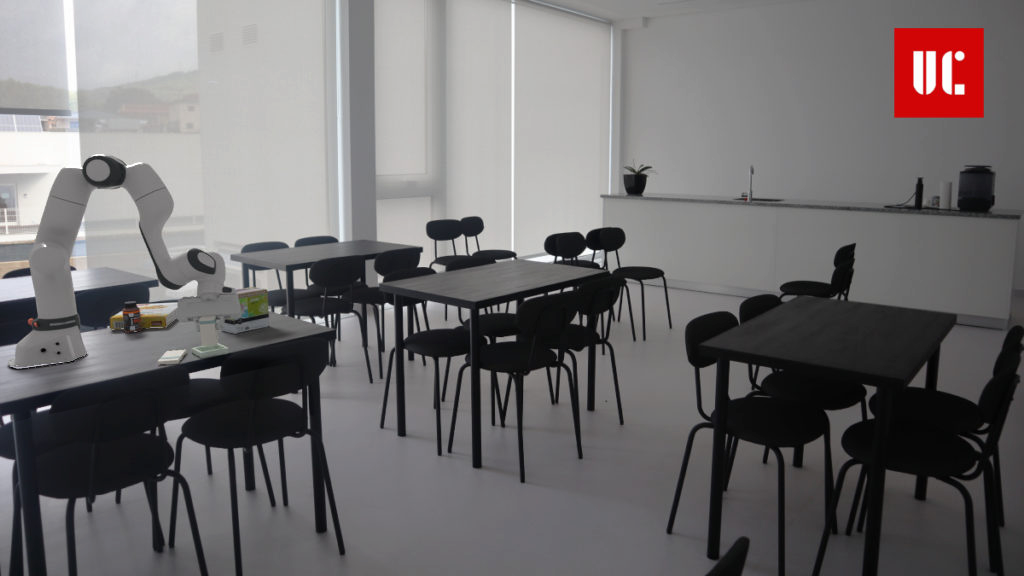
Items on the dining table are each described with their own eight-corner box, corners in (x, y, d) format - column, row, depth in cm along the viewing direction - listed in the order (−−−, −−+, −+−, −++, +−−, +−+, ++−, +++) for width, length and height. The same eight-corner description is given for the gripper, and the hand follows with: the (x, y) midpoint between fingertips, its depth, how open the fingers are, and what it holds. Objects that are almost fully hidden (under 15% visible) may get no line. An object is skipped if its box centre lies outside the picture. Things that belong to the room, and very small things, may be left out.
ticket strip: (157, 365, 244) (157, 360, 244) (167, 354, 257) (167, 350, 257) (178, 363, 245) (177, 359, 245) (186, 352, 258) (186, 348, 258)
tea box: (235, 334, 282) (232, 294, 280) (220, 331, 288) (216, 292, 286) (270, 326, 294) (267, 288, 291) (254, 323, 300) (251, 285, 297)
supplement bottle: (137, 333, 287) (133, 303, 285) (121, 333, 287) (118, 303, 285) (145, 329, 293) (141, 300, 291) (129, 329, 293) (126, 300, 291)
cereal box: (109, 317, 291) (131, 302, 318) (110, 331, 292) (132, 315, 319) (166, 315, 294) (183, 300, 321) (167, 329, 295) (184, 313, 322)
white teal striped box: (201, 345, 254) (198, 319, 252) (204, 342, 258) (201, 316, 256) (216, 344, 255) (213, 318, 253) (218, 341, 259) (215, 315, 257)
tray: (201, 358, 251) (201, 353, 250) (191, 353, 257) (191, 348, 257) (229, 353, 257) (228, 347, 256) (218, 348, 263) (218, 343, 263)
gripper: (175, 292, 258) (172, 327, 250) (240, 288, 262) (238, 322, 254) (180, 302, 263) (177, 337, 256) (243, 298, 267) (241, 332, 260)
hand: (208, 330), depth 255 cm, fingers closed on white teal striped box, 4 cm apart
